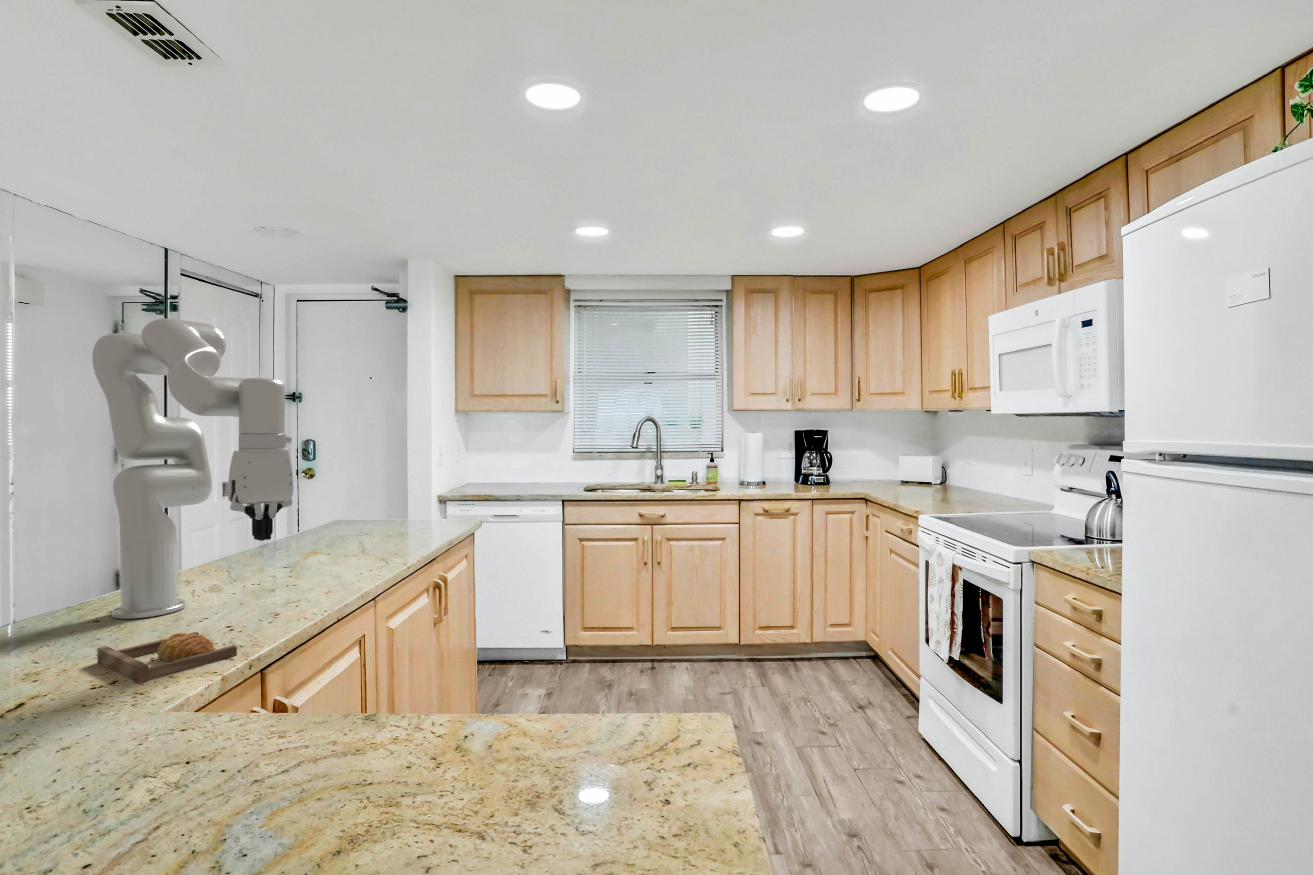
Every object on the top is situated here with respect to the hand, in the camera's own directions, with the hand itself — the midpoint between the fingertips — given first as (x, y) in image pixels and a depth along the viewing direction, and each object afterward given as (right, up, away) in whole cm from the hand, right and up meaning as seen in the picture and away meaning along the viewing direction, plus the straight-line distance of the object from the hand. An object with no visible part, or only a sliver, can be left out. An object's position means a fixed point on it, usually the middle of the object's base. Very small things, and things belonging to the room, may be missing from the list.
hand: (262, 539), depth 122 cm
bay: (-8, -18, -12) cm, 24 cm away
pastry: (-6, -19, -11) cm, 23 cm away
